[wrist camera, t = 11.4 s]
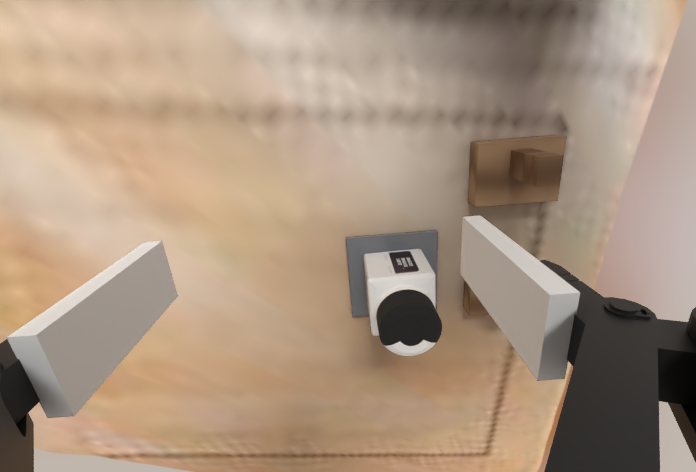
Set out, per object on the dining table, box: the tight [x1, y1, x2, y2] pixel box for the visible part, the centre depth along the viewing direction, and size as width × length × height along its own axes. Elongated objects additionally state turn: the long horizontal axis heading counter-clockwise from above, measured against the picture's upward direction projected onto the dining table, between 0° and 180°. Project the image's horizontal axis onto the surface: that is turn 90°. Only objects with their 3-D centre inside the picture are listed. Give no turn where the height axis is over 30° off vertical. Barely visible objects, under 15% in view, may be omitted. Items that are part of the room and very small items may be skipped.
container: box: [363, 249, 442, 356], centre depth 41 cm, size 8×8×13 cm
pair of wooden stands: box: [463, 135, 566, 316], centre depth 42 cm, size 23×10×8 cm, turn 4°
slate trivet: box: [346, 230, 438, 317], centre depth 47 cm, size 12×12×1 cm
